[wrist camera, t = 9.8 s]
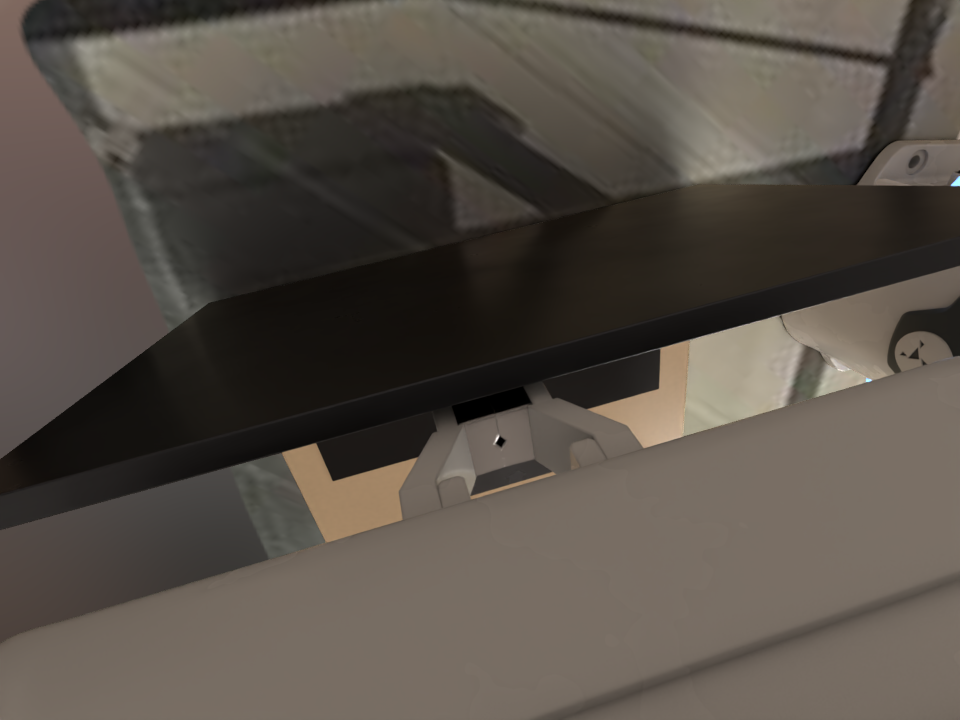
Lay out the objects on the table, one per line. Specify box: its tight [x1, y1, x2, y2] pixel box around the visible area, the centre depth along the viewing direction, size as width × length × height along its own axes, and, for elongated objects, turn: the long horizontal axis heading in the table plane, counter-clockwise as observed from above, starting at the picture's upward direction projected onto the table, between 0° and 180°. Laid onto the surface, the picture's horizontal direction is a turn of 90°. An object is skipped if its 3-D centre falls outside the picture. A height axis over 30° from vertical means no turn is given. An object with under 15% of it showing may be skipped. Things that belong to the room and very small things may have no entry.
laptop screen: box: [0, 184, 960, 530], centre depth 23 cm, size 21×30×1 cm
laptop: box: [282, 340, 690, 543], centre depth 39 cm, size 21×30×2 cm
